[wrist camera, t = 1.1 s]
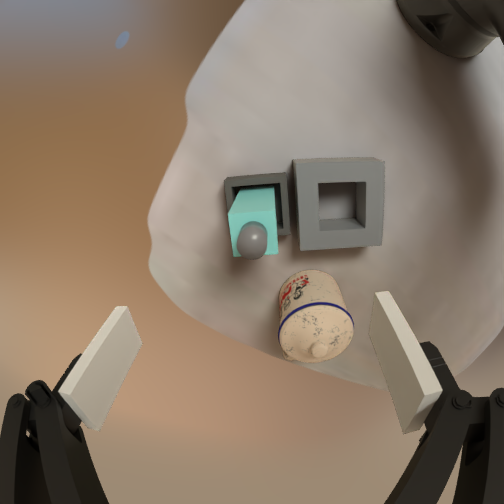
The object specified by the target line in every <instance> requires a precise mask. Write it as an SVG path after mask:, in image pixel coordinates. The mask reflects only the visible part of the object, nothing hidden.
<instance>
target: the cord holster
mask: <svg viewBox="0 0 504 504" xmlns="http://www.w3.org/2000/svg"><path fill="white" fill-rule="evenodd" d="M269 183H280V191H281V204H282V218H283V222H280V223H277V235H290V220H289V205H288V190H287V176H286V173H285V172H284V173H270V174H258V175H247V176H236V177H227V178H226V179H225V180H224V186H225V194H226V202H227V210H228V213H229V211H230V209H231V207H232V205H233V203H234V201H235V199H236V196H235V188H234V187H235V186H245V185H257V184H269Z"/></svg>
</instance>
